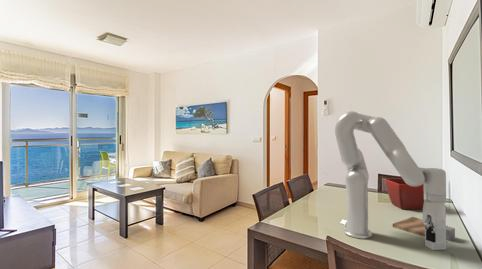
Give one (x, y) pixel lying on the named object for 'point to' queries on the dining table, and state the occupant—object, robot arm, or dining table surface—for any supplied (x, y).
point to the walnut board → (411, 226)
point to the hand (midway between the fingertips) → (435, 238)
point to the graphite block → (450, 233)
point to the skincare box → (438, 237)
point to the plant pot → (405, 194)
